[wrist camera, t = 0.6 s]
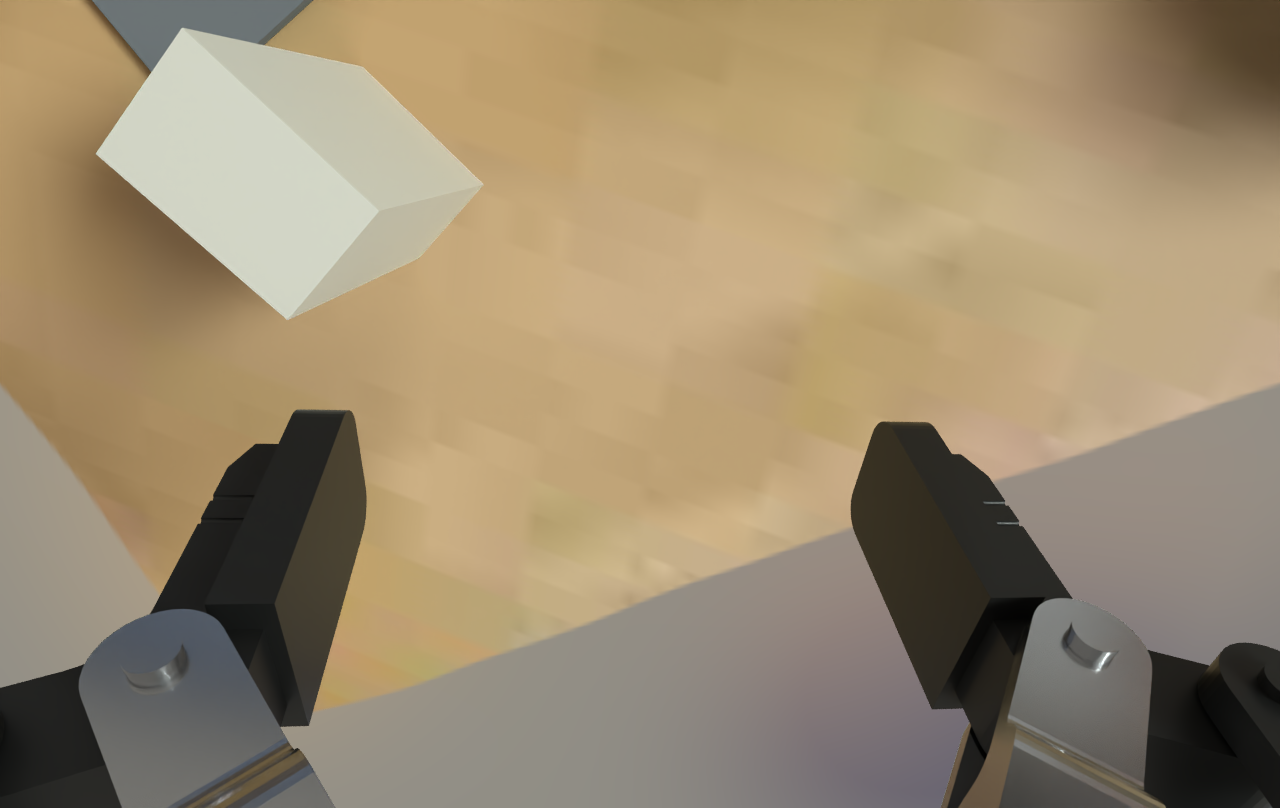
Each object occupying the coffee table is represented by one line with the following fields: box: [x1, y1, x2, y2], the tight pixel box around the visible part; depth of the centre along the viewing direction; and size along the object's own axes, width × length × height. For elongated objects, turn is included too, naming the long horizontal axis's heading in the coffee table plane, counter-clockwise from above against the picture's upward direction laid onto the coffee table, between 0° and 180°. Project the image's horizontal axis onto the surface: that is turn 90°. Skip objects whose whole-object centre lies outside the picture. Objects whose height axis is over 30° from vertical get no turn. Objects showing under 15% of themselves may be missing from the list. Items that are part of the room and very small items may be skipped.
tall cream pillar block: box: [96, 28, 484, 320], centre depth 25 cm, size 4×6×11 cm, turn 45°
